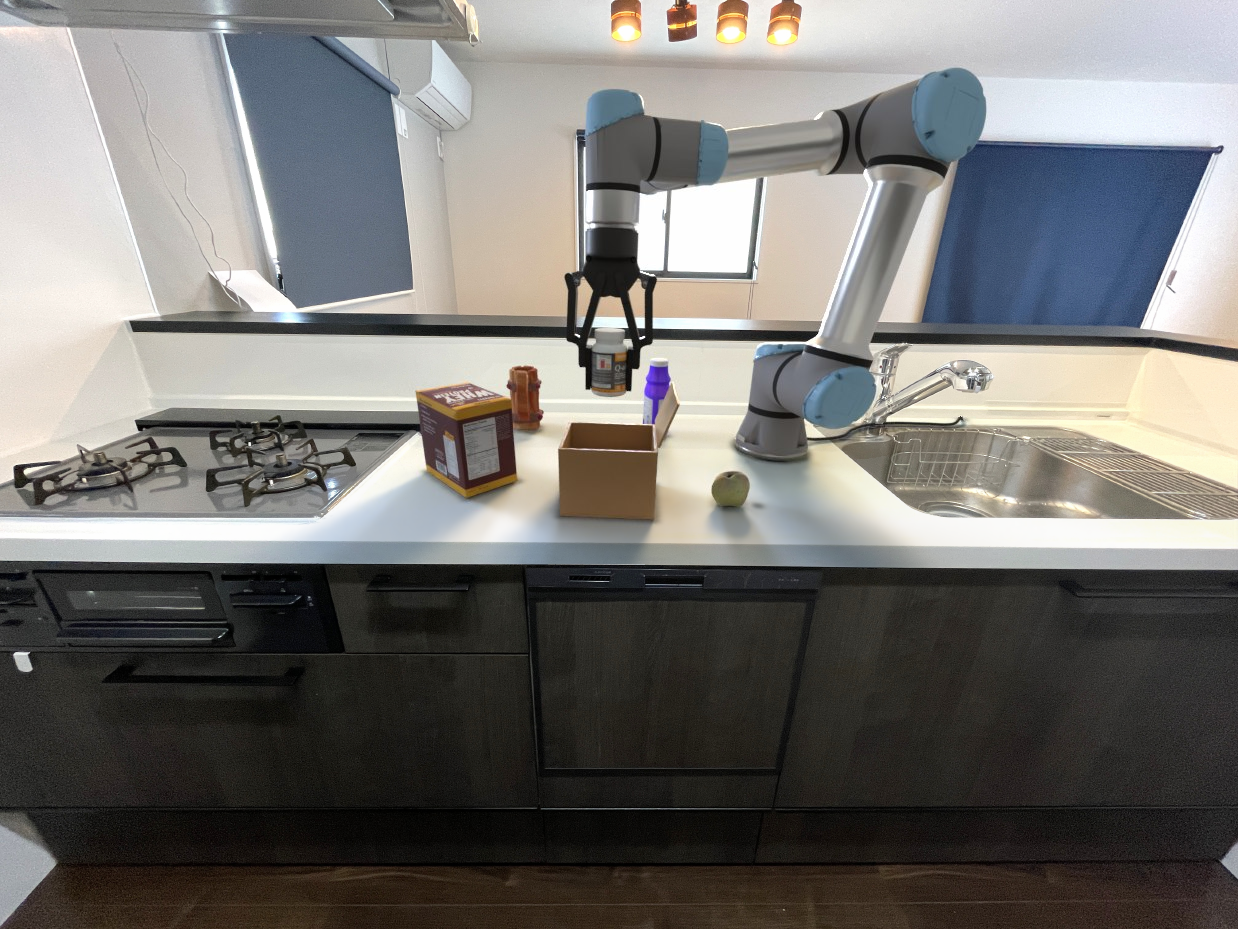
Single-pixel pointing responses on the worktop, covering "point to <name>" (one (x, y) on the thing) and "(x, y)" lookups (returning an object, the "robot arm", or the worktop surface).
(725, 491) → the apple
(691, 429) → the worktop surface
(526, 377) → the mug
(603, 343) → the pill bottle
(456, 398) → the supplement box
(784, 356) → the robot arm
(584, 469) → the carton
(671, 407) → the flap
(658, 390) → the bottle
